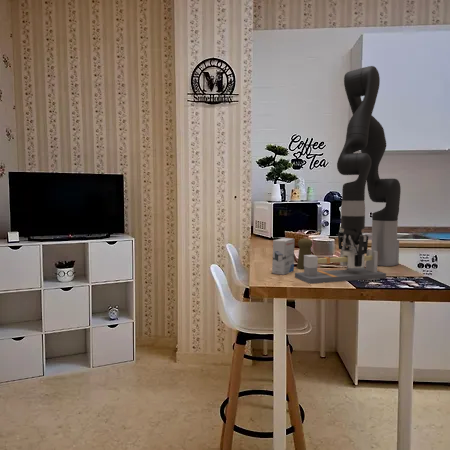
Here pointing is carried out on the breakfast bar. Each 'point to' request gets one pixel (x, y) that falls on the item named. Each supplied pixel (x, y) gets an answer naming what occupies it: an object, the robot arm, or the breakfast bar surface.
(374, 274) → the cable board
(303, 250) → the olive pawn shape
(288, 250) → the ink box
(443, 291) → the breakfast bar surface
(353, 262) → the sleeve
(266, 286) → the breakfast bar surface
